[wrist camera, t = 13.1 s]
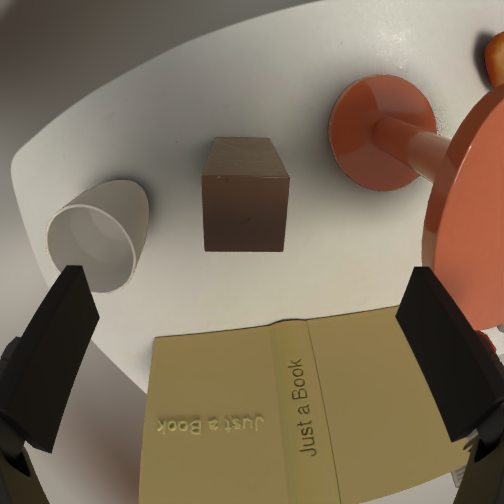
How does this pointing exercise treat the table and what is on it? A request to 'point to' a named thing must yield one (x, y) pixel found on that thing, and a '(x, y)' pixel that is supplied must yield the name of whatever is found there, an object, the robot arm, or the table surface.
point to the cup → (101, 234)
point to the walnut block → (244, 196)
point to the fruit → (495, 59)
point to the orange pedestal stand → (435, 181)
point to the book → (291, 415)
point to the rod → (501, 327)
